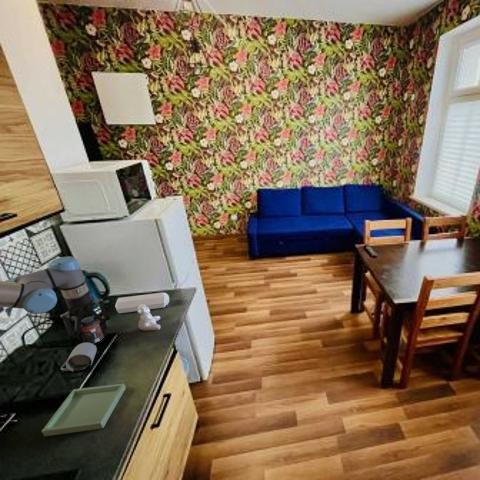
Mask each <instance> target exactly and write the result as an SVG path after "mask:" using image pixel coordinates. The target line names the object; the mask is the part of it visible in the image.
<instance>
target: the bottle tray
mask: <svg viewBox="0 0 480 480" xmlns="http://www.w3.org/2000/svg"><path fill="white" fill-rule="evenodd" d="M126 389H127V387H126V385H125V383H116V384H108V385H100V386H92V387H91V386H90V387H83V388H74V389H73V390H72V391H71V392H70V393H69V395H68V396H67V397H66V398H65V400H64V401H63V402H62V403H61V405H60V406H59V408H58V409H57V410H56V412H55V413H53V415H52V417H51V418H50V419H49V421H48V422H47V423H46V425H45V426H44V427H43V428H42V429H41V433H42V435H43V437H50V436H58V435H65V434H72V433H78V432H86V431H93V430H94V431H95V430H100V429H104V428H105V426H106V424H107V422H108V420H109V419H110V417H111V416H112V413H113V411H114V410H115V408H116V406H117V405H118V403H119V401H120V399H121V397H122V396H123V394H124V392H125V391H126Z"/></svg>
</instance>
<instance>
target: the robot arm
mask: <svg viewBox="0 0 480 480" xmlns="http://www.w3.org/2000/svg"><path fill="white" fill-rule="evenodd" d="M86 281H87V280H86V279H85V276H84V273H83V270H82V267H81V265H80V263H79V261H78V259H77V258H76V257H74V256H61V257H58V258H56V259H53V260H51V261H50V262H49V267H47V268H44V269H41V270H37V271H33V272H30V273H26V274H23V275H16V276H15V277H12V278H8V279H6V280H5V281H4V280H0V308H10V309H22V310H24V311H26V312H27V313H29V314H32V315H33V314H34V315H40V314H45V313H47V312H50V311H51V310H52V309H54V308H55V307H56V305H57V302H58V297H57V294H56V292H55V291H54V289H55V288H58V287H59V289H60V292H61V295H62V296H63V298H64V301H65V303H66V305H67V311H66V312H65V313H61V314H60V315H59V317H60V318H61V320H63V323H64V326H65V328H66V332H67V334H68V335H69V337H73V336H76V338H77V341H78V342H82V343H86V339H85V337H84V335H83V333H82V331H81V325H82V323H81V321H82V320H83V317H84V316H86V315H88V314H91V315H92V317H94V318H96V320H97V321H98V322H99V324H100V327H101V329H102V332H103V335H104V336H107V337H108V334H107V332H106V330H108V326H107V321H109V320H111V317H110V315H109V314H108V311H107V309H106V307H105V301H104V300H103V299H102V298H99V299H97V300H94V299H93V296H92V294H91V292H90V288H89V286H88V284H87V282H86ZM96 305H97V306H98V307H99V309H100V311H101V313H102V315H103V317H102V316H100V315H99V314H98V312H96V311H95V310H94V308H95V306H96ZM70 315H73V316H74V330H73V328H72V324H71V321H70Z"/></svg>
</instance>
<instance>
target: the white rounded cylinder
mask: <svg viewBox="0 0 480 480" xmlns="http://www.w3.org/2000/svg"><path fill="white" fill-rule="evenodd" d="M169 303H170V296H169V294H168V293H167V292H155V293H148V294H147V293H146V294H139V295H131V296H123V297H118V298H117V300H116V302H115V305H114V307H115V309H116V312H117V313H118V314H125V313H133V312H138V311H137V309H138V307H139V306H140V304H141V305H142V304H144V305H145V306H146V307H148V308H149V310H154V309H162V308H165V307H167V306H168V305H169ZM166 305H167V306H166Z"/></svg>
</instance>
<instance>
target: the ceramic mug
mask: <svg viewBox="0 0 480 480" xmlns="http://www.w3.org/2000/svg"><path fill="white" fill-rule="evenodd" d="M97 349H98V348H97V345H96V344H95V345H94V344H92V343H88V342H86V343H83V342H81V343H79V344H77V345H76V346H75V347H74V348H73V350H72V351H71V353H70V355H69V356H68V358H67V359H66V361H65V362H64V363H63V364H62V365H61V367H60V370H61V371H62V370H63V371H62V372H64V371H66V372H69V371H71V372H74V371H73V370H74V367H75V365H84V364H88V363H90V361H91V364H90V365H91V366H92V365H93V363H94V359H95V356H96V354H97ZM65 365H66V368H63V367H64V366H65Z"/></svg>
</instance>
